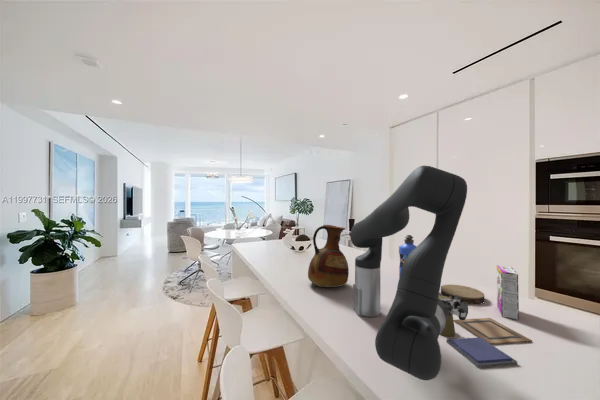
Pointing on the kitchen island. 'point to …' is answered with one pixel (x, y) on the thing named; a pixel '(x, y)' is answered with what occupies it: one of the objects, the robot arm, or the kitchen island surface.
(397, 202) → the robot arm
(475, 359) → the ink pad
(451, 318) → the cork
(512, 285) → the candy bar box
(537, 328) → the kitchen island surface
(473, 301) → the tan flat ringed disc
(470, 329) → the marked board
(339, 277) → the ceramic pitcher
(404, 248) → the water bottle
